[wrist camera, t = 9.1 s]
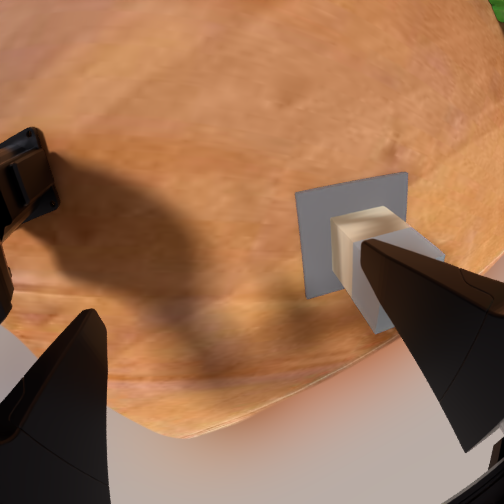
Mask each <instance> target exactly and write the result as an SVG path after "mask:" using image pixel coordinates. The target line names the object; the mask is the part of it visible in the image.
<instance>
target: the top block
mask: <svg viewBox="0 0 504 504" xmlns="http://www.w3.org/2000/svg"><path fill="white" fill-rule="evenodd" d="M372 238H374V239H377V240H380V241H383V242H386V243H389V244H392V245H395V246H398V247H401V248H404V249H407V250H410V251H413V252H416V253H419V254H422V255H425V256H428V257H431V258H434V259H436V260H439V261H442V262H444V259H445V254H444V253H443V252H442V251H440V250H439V249H438V248H437V247H436V246H434V245H433V244H432V243H431V242H430V241H428V240H427V239H426V238H425V237H423V236H422V235H421V234H420V233H419V232H417V231H416V230H415V229H414V228H412V227H409V228H406V229H402V230H398V231H394V232H391V233H387V234H383V235H380V236H376V237H372ZM368 239H371V238H368ZM368 239H364V240H368ZM364 240H361V241H357V242H353V274H352V300H353V302H354V303H355V305H356V306H357V308H358V309H359V311H360V312H361V314H362V315H363V317H364V318H365V320H366V321H367V323H368V324H369V326H370V327H371V329H372V330H373V332H374V334H378V333H380V332H383V331H386V330H388V329H391V328H393V327H395V326H394V325H393V323H392V322H391V320H390V318H389V317H388V315H387V314H386V312H385V311H384V309H383V308H382V306H381V304H380V303H379V301H378V299H377V297H376V295H375V293H374V291H373V289H372V287H371V285H370V283H369V282H368V280H367V278H366V276H365V274H364V272H363V270H362V268H361V265H360V253H361V243H362V241H364Z"/></svg>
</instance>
